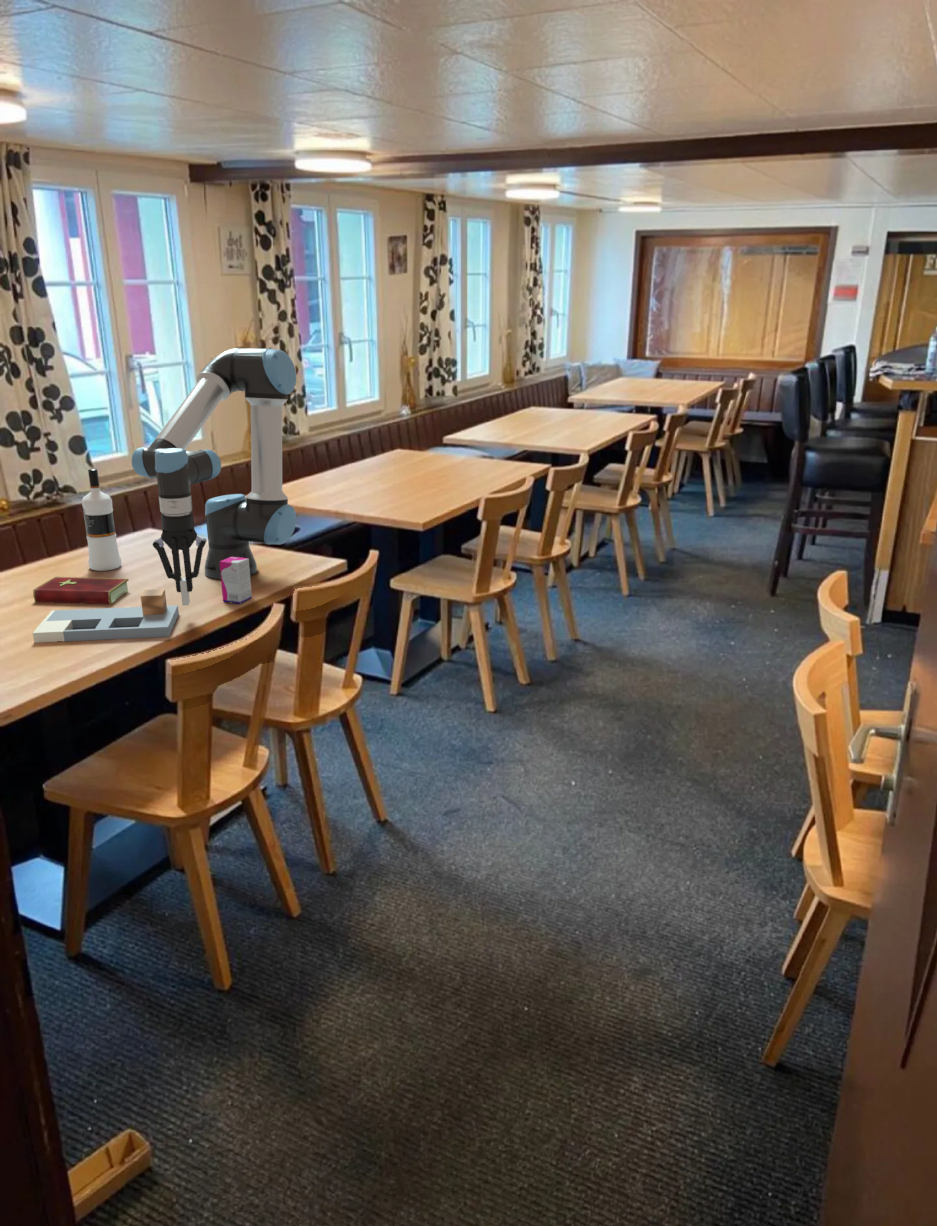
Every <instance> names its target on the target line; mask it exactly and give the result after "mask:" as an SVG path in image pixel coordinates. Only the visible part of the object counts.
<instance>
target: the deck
mask: <svg viewBox="0 0 937 1226" xmlns="http://www.w3.org/2000/svg"><path fill="white" fill-rule="evenodd" d="M179 615H180V613H179V605H178V604H177V605H167V608H166V611H165V613H164V614H156V615H143V611H142V606H128V607H106V608H105V607H104V608H103V607H102V608H79V609H77V608H76V609H54V610H53V609H52V610H51V611H50V612H49V613H48V614H47V616H46V617H44V619H43V620H42V621H41V623H39V624H38V626H37V627H36V629H34V631H33V632H32V637H33V642H34V643H35V644H37V643H39V644H40V643H58V642H57V641H62V642H79V641H84V642H85V641H101V640H125V639H144V638H165V637H166V638H167V637H168V638H169V637H170V636H171V633H172V631H173V629H174V627H175V624H176V623H177V622H176V621H177V620H176V619H178V617H179Z"/></svg>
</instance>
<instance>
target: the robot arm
mask: <svg viewBox="0 0 937 1226" xmlns="http://www.w3.org/2000/svg"><path fill="white" fill-rule="evenodd" d="M296 384H297V372H296V368H295V365H294V362H293V360H292V359H291V357H290V355H288V353H287V352H285V351H284V350H281V349H273V348H252V347H251V348H246V347H244V348H243V347H234V348H230V349H228V350H225V351H223V352H221V353H219V354H218V355H217V356H215V357H214V358H213V359H212V360H211V361H209V362H208V363H207V364H206V365H205V366H204V367H203V368H202V370H201V371H200V372H199V373H198V374H197V376H196V384H195V385H194V387H193V388H192V389H191V391H190V392H189V394H188V395H187V396H186V397H185V398H184V400H183V401H182V403H181V404H180V405H179V406H178V408H176V410H175V412H174V413H173V415H172V416H171V418H170V419H169V420H168V422H167V423H166V424H165V425H164V426H163V428H162V429H161V431H160V432H159V433H158V434H157V436H156V438H155V439H154V440H153V441H152V442H151V444H150V445H149V447H148V446H142V447H141V446H140V447H138V448H136V449H135V450H134V451H133V453H132V456H131V467H132V469H133V471H134V472H135V473H136V474H137V475H138V476H140V477H144V478H150V479H156V481H157V490H158V491H157V492H158V502H159V510H160V511H159V512H161V516H160V520H161V529H162V533H161V535H160V538H158V539H155V540H154V541H153V543H152V547H153V548H154V549H155V550H156V551H157V553H158V556H159V559H160V561H161V564H162V567H163V569H164V572H165V575H166V577H167V578H168V579H172V580H174V582H175V589H176V590H175V591H176V593H180V595H181V597H180V598H181V604H182V607H183V606H189V605H190V603H191V602H190V601H191V599H190V593H192V592H193V589H194V587H193V585H194V584H193V579H194V578H195V579H196V578H197V577H198V576H199V574H200V568H201V563H202V562H201V561H202V555H203V550H204V547H205V545H206V544H207V542H208V551H207V555H206V560H205V563H204V575H205V577H207V578H209V579H210V578H211V579H215V580H221V571H220V561H222V560H225V559H227V558H229V557H240V558H249V568H250V577H251V576H253V575H255V574H257V572H258V565H257V562H256V559H255V556H254V554H253V552H252V550H251V547H250V542H252V543H260V544H266V545H269V546H270V545H279V546H280V545H283V544H285V543H286V542H288V541H289V539H290V538H291V537H292V535H293V534H294V532H295V529H296V524H297V513H296V511H295V508H294V507H293V506H292V505H291V504H289V503H288V502H289V500H288V499H289V498H288V495H286V494H285V493H284V492H283V405H284V404H285V403H287V401H288V399H289V398H288V394H290V393H291V394H292V392H293V391H294V389H295V386H296ZM239 391H240V392H244V399H245V400H246V402H248V403H249V405H250V453H251V454H250V458H251V460H250V462H251V463H250V466H251V467H250V468H251V470H250V471H251V491H250V492H249V493H248V494H247V495H245V494H243V493H234V494H233V493H231V494H225V495H220V496H219V495H218V496H215V497H212V498H209V499H207V501H206V502H205V506H204V508H205V509H204V511H205V513H204V516H205V522H206V532H207V539H206V538H202V537H200V536H199V535H198V533H197V531H196V530H195V523H194V522H195V521H194V513H192V511H193V502H192V492H191V485H195V484H199V483H202V482H207V481H210V480H212V479H214V478H216V477H217V476H219V474H220V473H221V470H222V464H221V463H222V462H221V458H220V457H219V455H218V454H217V453H216V452H215V451H213V450H211V449H199V450H194V451H193V450H186V449H187V448H188V446H190V444H191V443H192V441H193V440H194V438H195V437H196V436H197V434H198V433H199V432H200V430H201V429H202V428H203V426H204V425H205V423H206V422H207V421H208V419H209V418H210V416H211V415H212V414H213V412H215V410H216V408H217V407H218V405H219V404H220V403H221V401H225V400H227V399H228V398H229V397H230V395H231V394H232V393H236V392H239ZM194 542H195V545H196V546H197V549H196V552H195V553H196V554H195V559H194V566H193V571H192V565H191V555H190V548H191V547H192V545H193V544H194ZM165 544H166V546H167V547H168V548H169V549H171V555H172V564H173V568H172V566H171V563H170V560H169V557H168V553H167V551H166V549H165V547H164V546H165ZM180 551H182V556H183V557H182V558H183V567H184V576H185V577H182V569H181V562H180V561H181V559H180Z"/></svg>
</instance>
